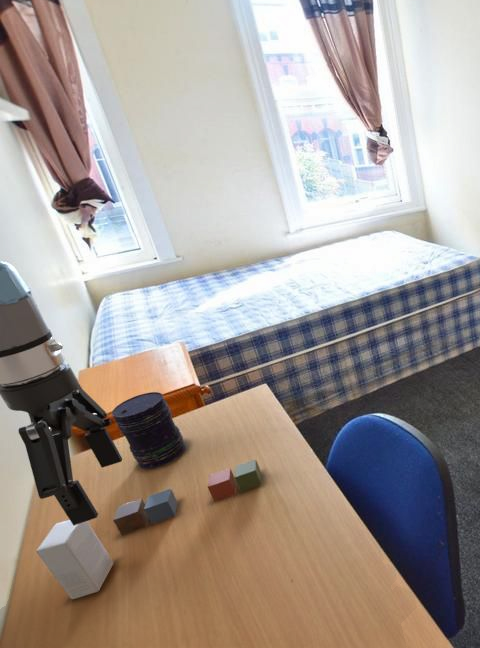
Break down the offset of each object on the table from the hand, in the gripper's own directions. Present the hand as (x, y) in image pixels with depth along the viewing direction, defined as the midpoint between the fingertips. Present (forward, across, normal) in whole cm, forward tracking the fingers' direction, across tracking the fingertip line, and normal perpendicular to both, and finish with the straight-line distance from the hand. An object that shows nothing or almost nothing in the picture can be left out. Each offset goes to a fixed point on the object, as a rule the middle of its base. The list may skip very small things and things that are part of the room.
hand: (100, 489), depth 73 cm
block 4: (+21, +17, -15) cm, 31 cm away
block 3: (+21, +17, -10) cm, 29 cm away
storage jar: (+21, +40, +5) cm, 46 cm away
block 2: (+21, +17, +1) cm, 27 cm away
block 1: (+21, +17, +6) cm, 28 cm away
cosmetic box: (+21, +5, +10) cm, 24 cm away
